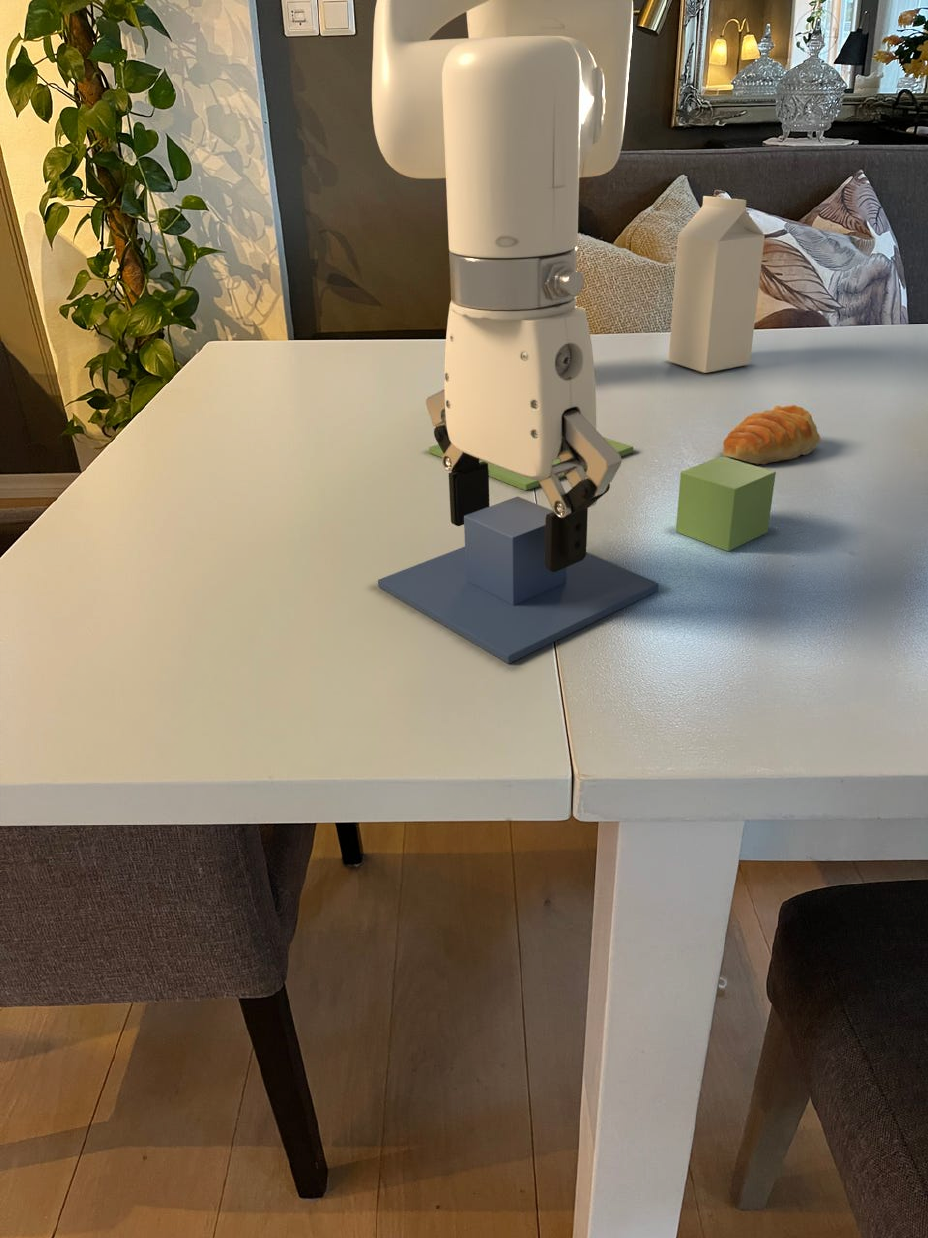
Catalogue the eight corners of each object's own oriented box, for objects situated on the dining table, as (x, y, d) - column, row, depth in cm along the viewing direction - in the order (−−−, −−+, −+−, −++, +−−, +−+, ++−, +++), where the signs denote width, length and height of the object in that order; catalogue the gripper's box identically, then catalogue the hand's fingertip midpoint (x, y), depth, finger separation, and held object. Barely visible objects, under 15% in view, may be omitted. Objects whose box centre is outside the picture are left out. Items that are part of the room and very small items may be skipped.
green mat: (428, 452, 90) (428, 446, 90) (533, 420, 98) (533, 415, 98) (526, 490, 81) (526, 484, 80) (633, 452, 88) (633, 446, 88)
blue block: (465, 581, 65) (463, 515, 62) (518, 559, 68) (517, 495, 65) (513, 605, 61) (512, 537, 59) (566, 582, 64) (568, 515, 62)
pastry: (763, 474, 82) (768, 433, 80) (702, 456, 87) (705, 417, 85) (823, 449, 87) (829, 410, 85) (762, 434, 92) (767, 396, 90)
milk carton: (705, 374, 111) (721, 202, 102) (667, 362, 117) (679, 198, 107) (750, 365, 114) (770, 197, 104) (711, 354, 119) (727, 193, 110)
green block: (675, 531, 72) (680, 471, 70) (715, 514, 75) (721, 455, 72) (728, 551, 69) (735, 489, 66) (767, 532, 71) (776, 471, 69)
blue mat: (378, 587, 66) (377, 579, 66) (522, 530, 73) (522, 524, 73) (508, 664, 56) (508, 656, 56) (658, 590, 64) (659, 583, 64)
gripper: (668, 290, 51) (648, 565, 60) (468, 257, 63) (476, 491, 71) (572, 313, 47) (566, 605, 56) (378, 273, 59) (398, 519, 67)
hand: (515, 541), depth 63 cm, fingers open, 9 cm apart
